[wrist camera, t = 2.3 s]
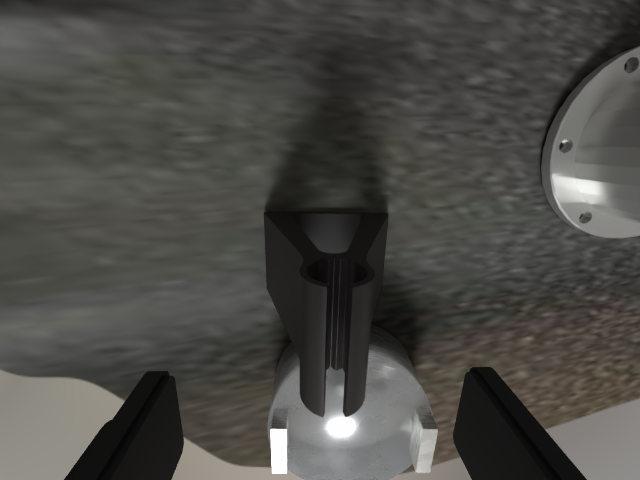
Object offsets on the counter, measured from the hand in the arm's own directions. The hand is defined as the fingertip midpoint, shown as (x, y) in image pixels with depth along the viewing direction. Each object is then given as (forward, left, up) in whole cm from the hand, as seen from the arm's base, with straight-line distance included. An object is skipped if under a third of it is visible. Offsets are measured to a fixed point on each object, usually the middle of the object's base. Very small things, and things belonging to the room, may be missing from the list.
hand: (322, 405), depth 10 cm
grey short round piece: (-3, +12, -14) cm, 18 cm away
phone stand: (-1, 0, -14) cm, 14 cm away
